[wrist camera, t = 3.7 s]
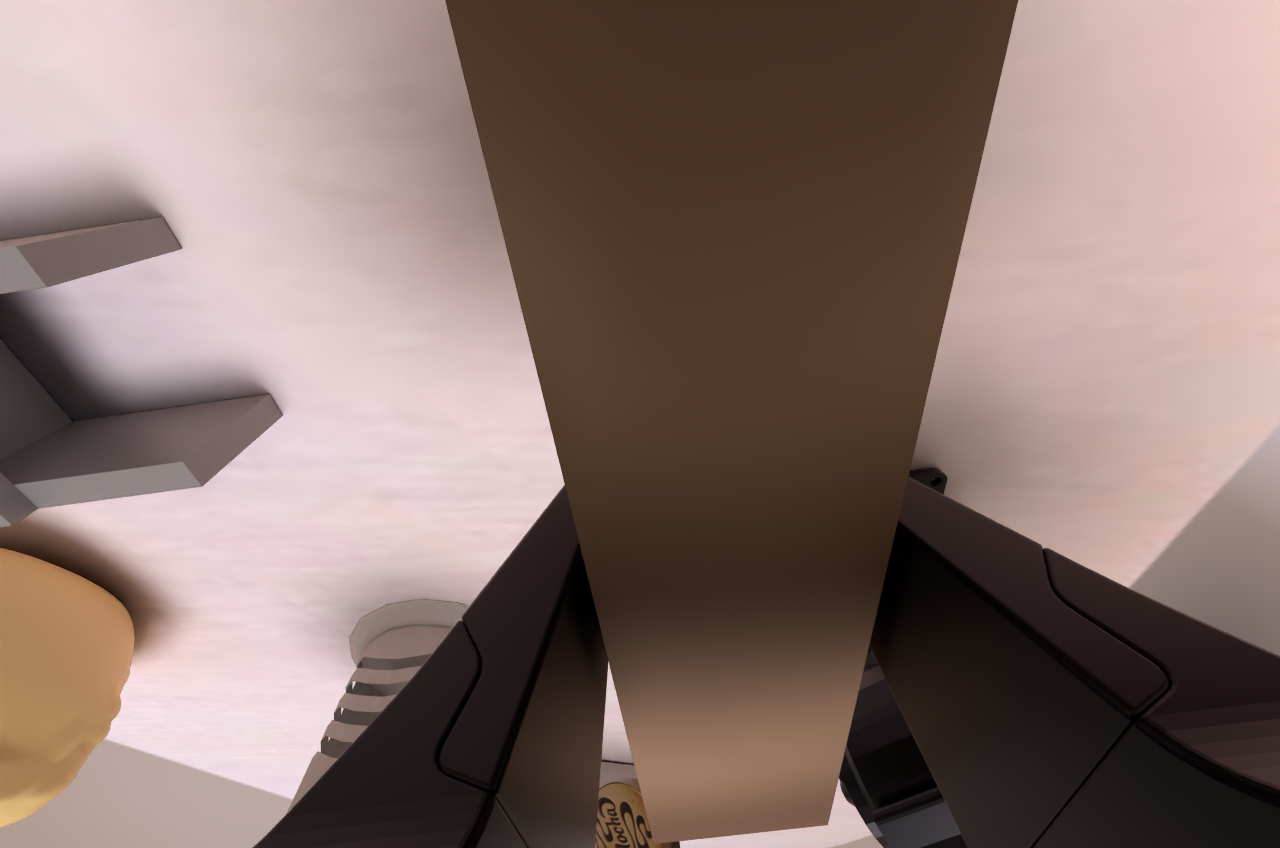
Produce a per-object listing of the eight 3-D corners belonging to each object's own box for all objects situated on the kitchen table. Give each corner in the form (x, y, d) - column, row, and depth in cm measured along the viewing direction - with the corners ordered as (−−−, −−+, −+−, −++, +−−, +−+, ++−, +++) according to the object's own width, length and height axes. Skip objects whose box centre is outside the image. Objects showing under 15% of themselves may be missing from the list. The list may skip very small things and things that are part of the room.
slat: (771, 642, 13) (827, 825, 10) (642, 657, 13) (653, 844, 10) (809, -76, 6) (1106, -377, 2) (515, -36, 6) (378, -270, 2)
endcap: (282, 415, 19) (183, 502, 15) (67, 445, 20) (-96, 540, 15) (162, 216, 16) (-22, 253, 11) (-106, 256, 16) (-394, 308, 11)
